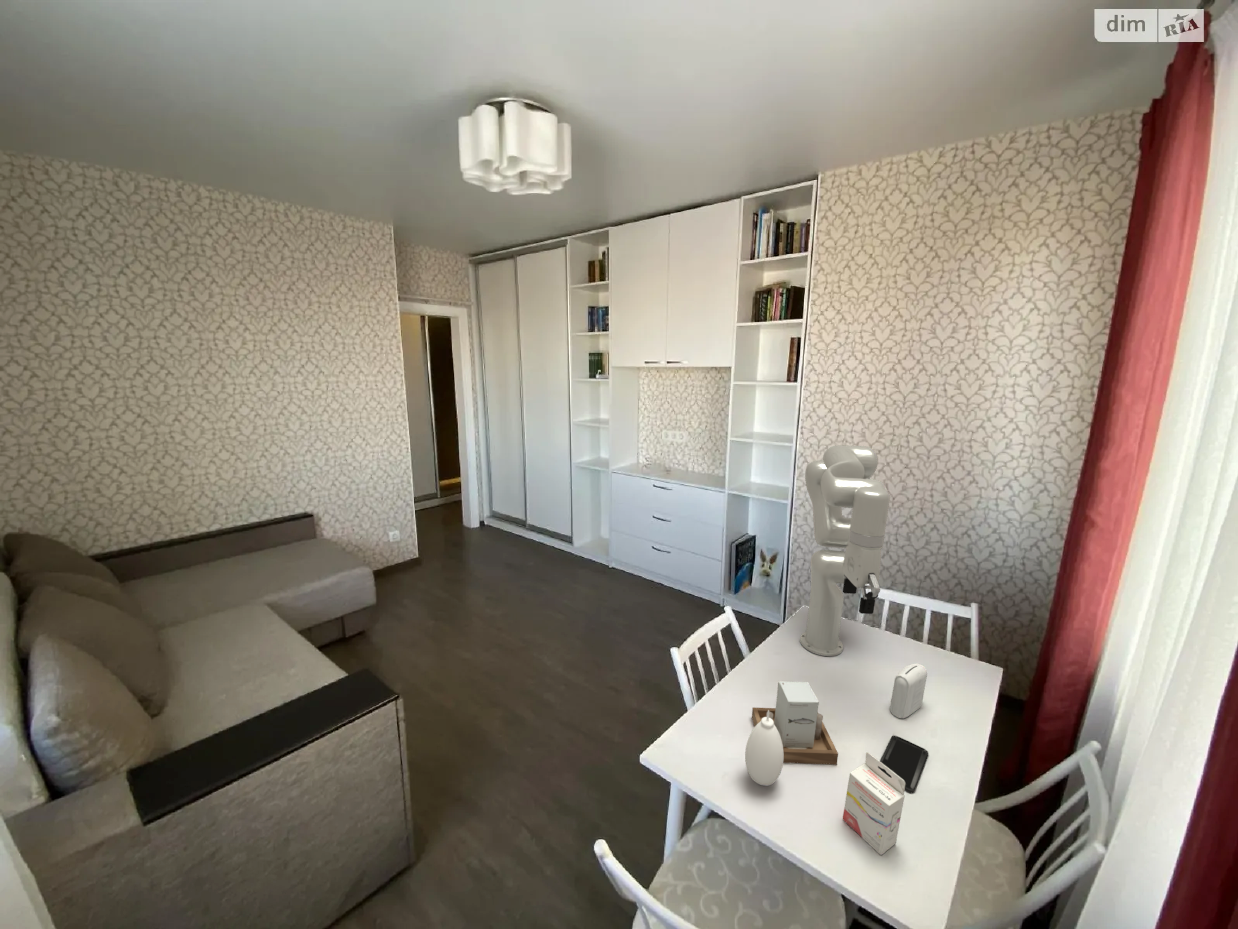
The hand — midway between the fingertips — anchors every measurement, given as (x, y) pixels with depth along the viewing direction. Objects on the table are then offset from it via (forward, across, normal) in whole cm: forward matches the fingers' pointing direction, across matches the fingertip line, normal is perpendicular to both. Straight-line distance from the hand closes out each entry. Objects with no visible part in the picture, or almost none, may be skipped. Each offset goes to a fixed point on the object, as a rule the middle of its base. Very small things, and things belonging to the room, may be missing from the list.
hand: (857, 602), depth 125 cm
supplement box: (+29, +12, -17) cm, 36 cm away
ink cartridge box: (+30, +35, -9) cm, 47 cm away
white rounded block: (+30, 0, +16) cm, 34 cm away
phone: (+31, +18, +6) cm, 36 cm away
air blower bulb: (+30, +24, -27) cm, 47 cm away
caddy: (+30, +12, -17) cm, 37 cm away
